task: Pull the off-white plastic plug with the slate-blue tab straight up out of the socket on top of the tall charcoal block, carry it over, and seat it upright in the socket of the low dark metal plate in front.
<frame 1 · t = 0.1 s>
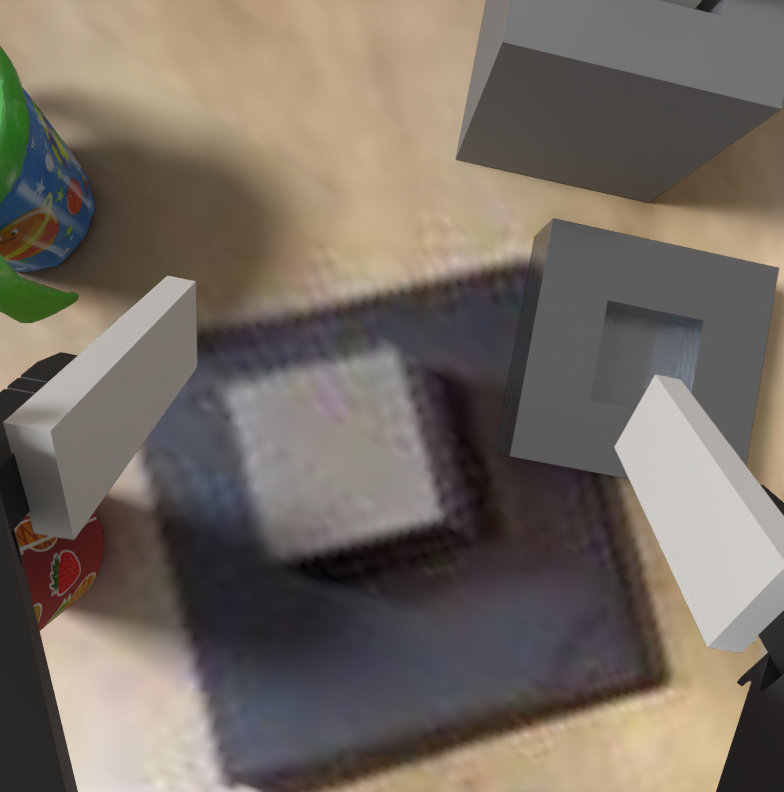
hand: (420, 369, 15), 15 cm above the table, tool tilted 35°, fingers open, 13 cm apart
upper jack: (570, 84, 32), on the table
smoothie: (54, 541, 29), on the table
snack cup: (31, 209, 30), on the table
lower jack: (619, 364, 31), on the table
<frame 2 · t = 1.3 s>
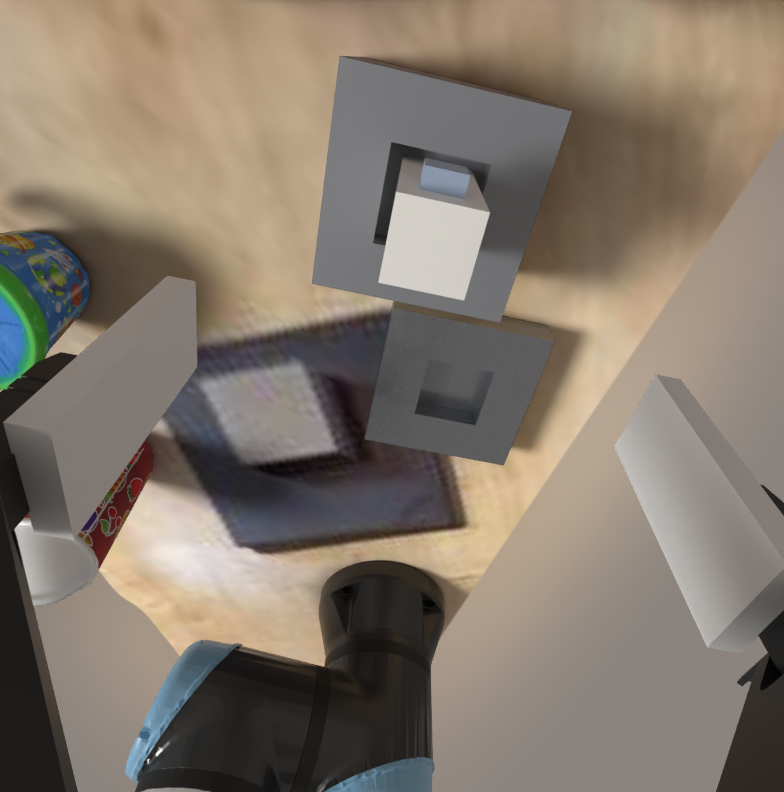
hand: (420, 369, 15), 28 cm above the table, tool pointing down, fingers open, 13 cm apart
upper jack: (427, 173, 38), on the table
smoothie: (125, 449, 54), on the table
snack cup: (48, 272, 44), on the table
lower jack: (451, 375, 47), on the table
plug: (429, 197, 31), point 8 cm above the table, touching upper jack
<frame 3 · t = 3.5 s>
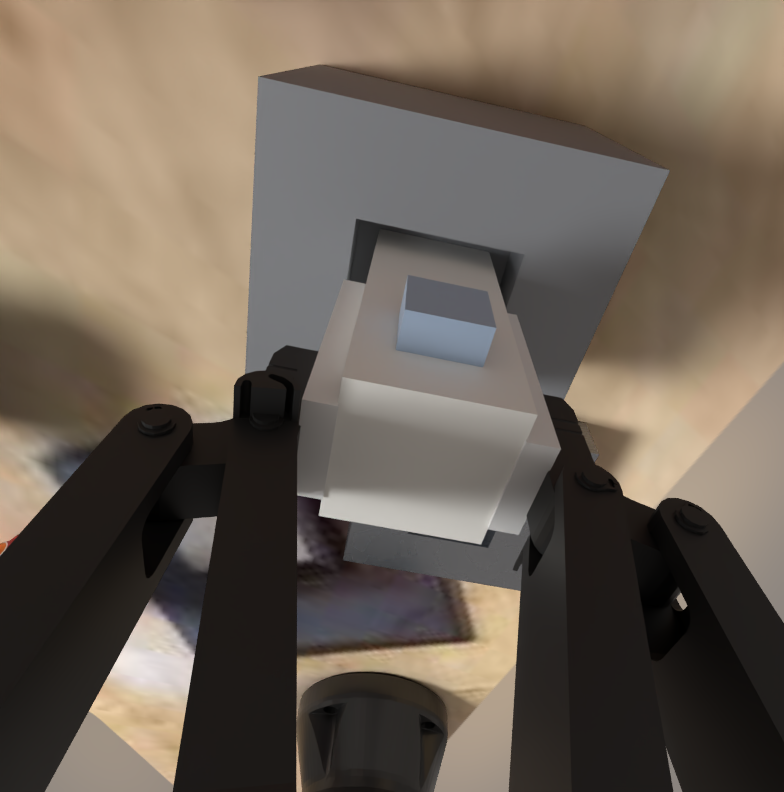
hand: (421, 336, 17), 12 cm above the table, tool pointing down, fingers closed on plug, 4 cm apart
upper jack: (423, 229, 27), on the table
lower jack: (456, 479, 36), on the table
plug: (422, 291, 20), point 8 cm above the table, touching gripper, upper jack
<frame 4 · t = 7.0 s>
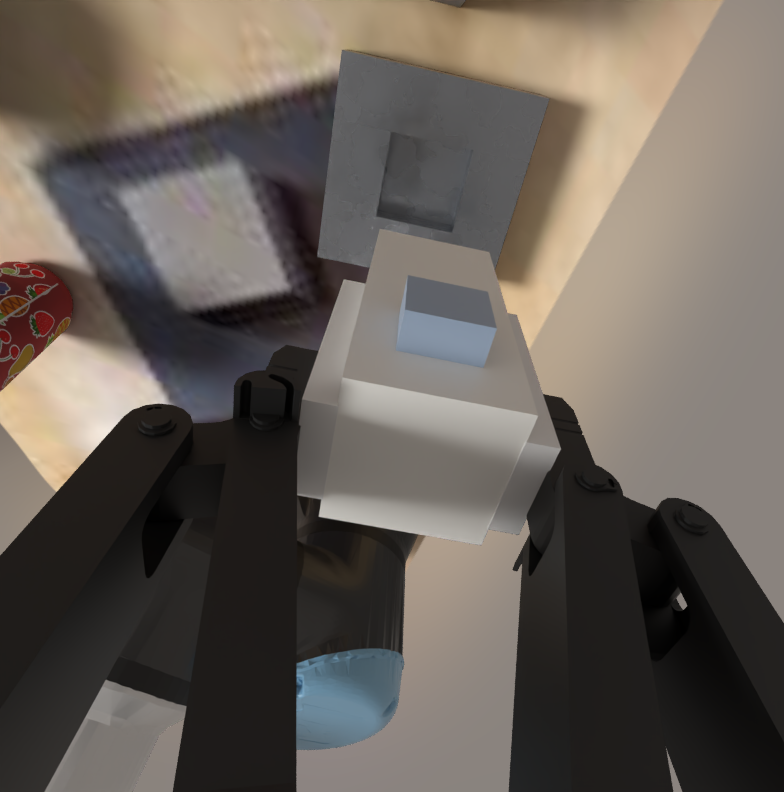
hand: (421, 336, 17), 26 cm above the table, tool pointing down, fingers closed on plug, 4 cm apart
smoothie: (41, 293, 45), on the table
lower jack: (423, 175, 38), on the table
plug: (422, 292, 20), point 22 cm above the table, touching gripper
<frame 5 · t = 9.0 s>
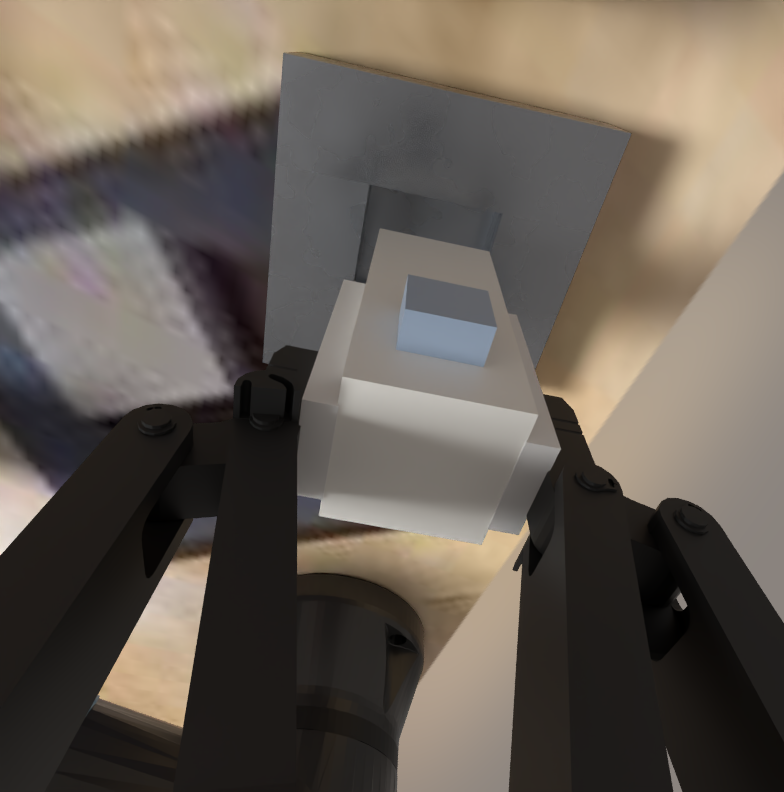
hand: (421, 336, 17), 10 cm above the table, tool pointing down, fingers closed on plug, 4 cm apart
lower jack: (421, 242, 25), on the table
plug: (422, 291, 20), point 6 cm above the table, touching gripper
when the fingers open (5 cm above the table, at t = 10.6 s): plug stays where it is, resting on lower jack.
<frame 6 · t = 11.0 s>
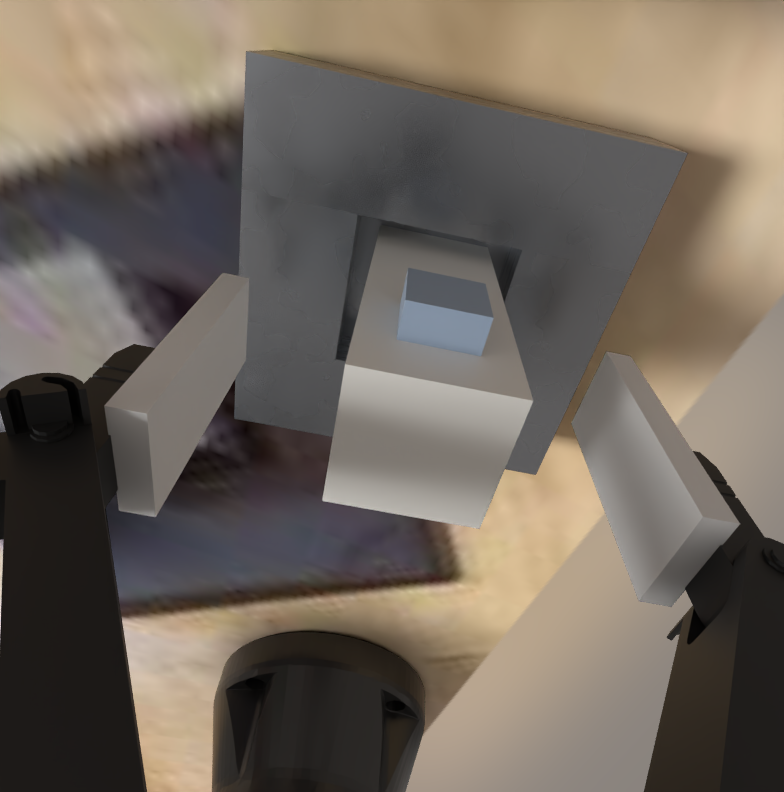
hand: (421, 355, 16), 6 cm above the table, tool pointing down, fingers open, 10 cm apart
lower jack: (422, 277, 21), on the table
plug: (422, 286, 20), point 1 cm above the table, touching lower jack
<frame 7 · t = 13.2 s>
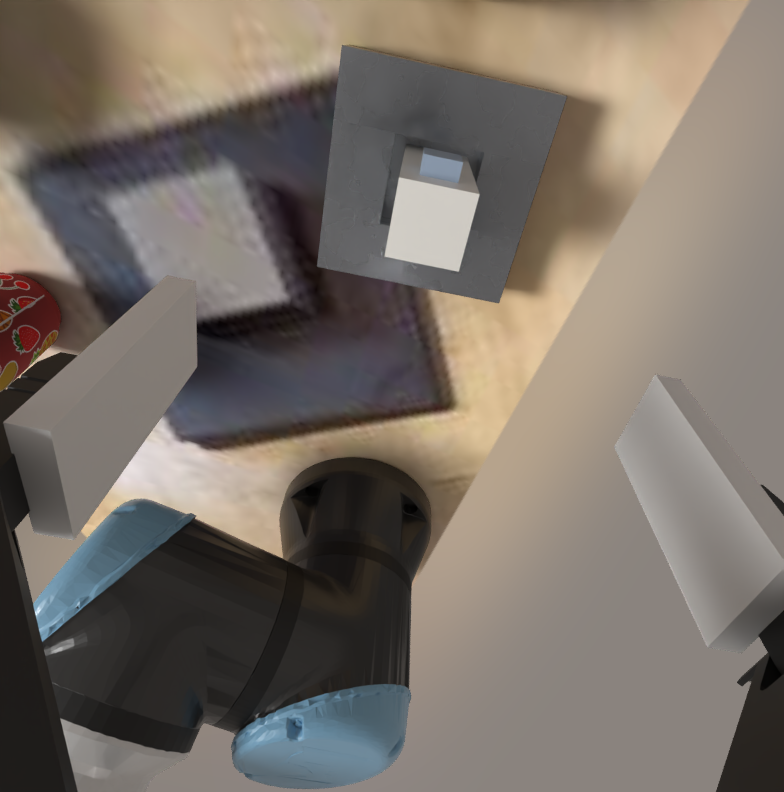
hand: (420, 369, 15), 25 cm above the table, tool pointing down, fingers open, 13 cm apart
smoothie: (27, 305, 43), on the table
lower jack: (429, 179, 36), on the table
plug: (429, 182, 35), point 1 cm above the table, touching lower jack
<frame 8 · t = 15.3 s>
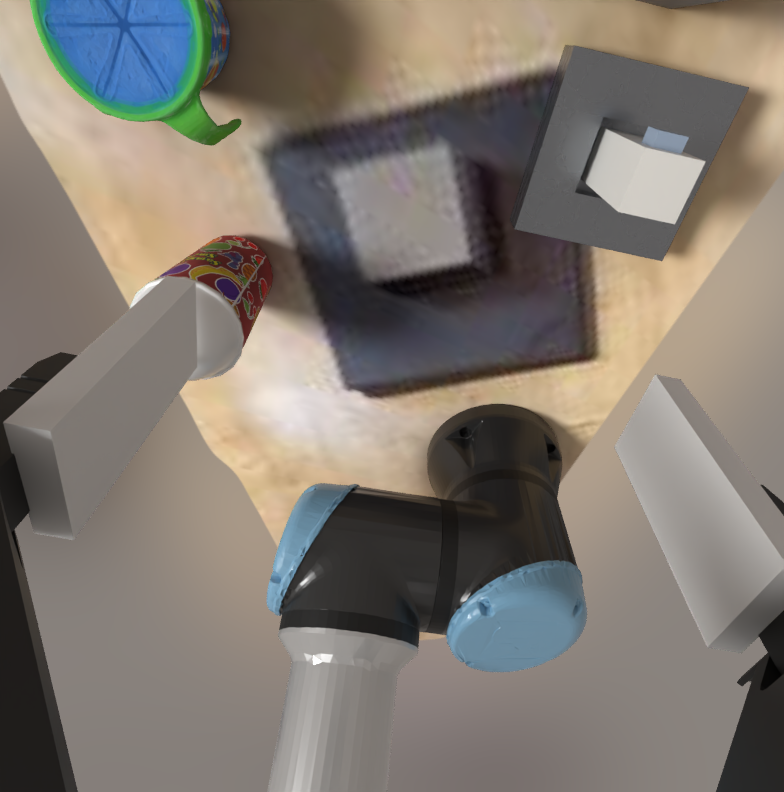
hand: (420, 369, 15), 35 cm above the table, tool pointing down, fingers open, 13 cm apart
smoothie: (241, 265, 50), on the table
snack cup: (183, 28, 40), on the table
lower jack: (611, 157, 43), on the table
plug: (614, 159, 42), point 1 cm above the table, touching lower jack
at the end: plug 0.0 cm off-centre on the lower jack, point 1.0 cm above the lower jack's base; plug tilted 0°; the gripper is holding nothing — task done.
